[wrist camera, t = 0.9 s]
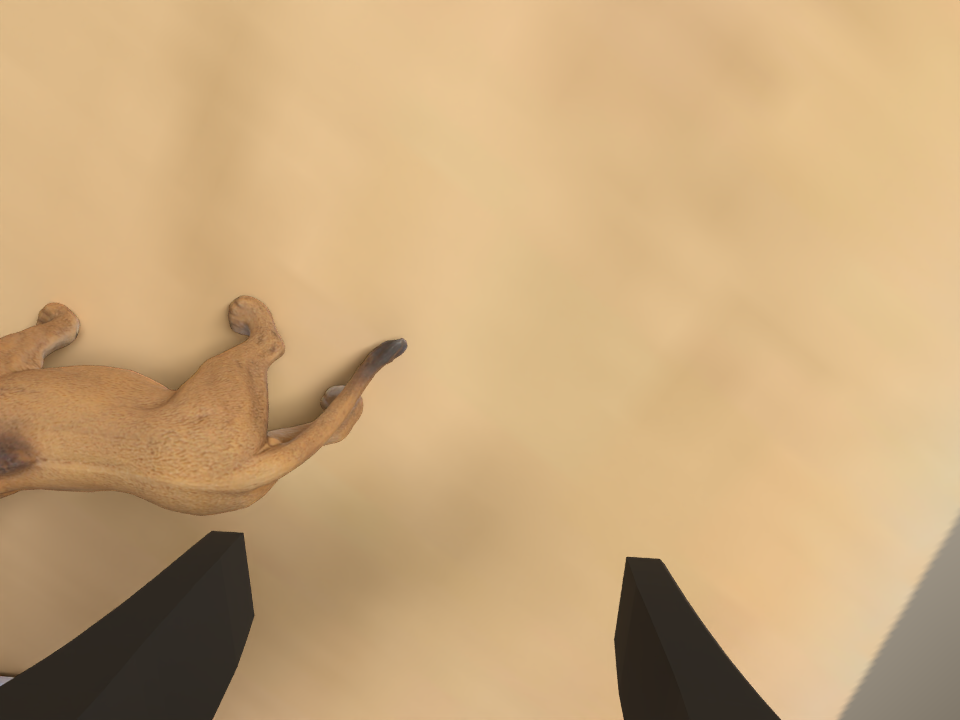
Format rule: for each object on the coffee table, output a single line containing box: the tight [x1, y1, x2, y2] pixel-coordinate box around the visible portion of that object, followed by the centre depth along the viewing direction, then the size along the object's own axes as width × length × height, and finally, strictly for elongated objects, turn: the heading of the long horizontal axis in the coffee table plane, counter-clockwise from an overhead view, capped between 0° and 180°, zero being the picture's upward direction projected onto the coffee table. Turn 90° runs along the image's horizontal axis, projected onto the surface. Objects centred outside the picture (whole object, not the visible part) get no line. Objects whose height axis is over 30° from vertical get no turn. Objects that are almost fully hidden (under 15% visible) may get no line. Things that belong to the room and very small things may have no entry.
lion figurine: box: [0, 296, 407, 516], centre depth 18 cm, size 15×5×9 cm, turn 99°
